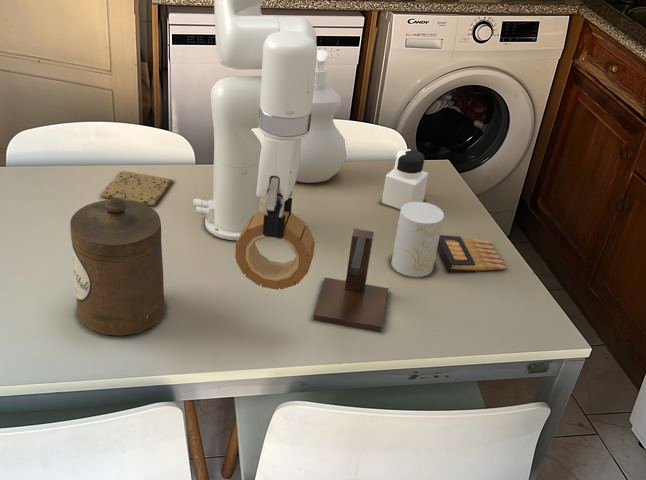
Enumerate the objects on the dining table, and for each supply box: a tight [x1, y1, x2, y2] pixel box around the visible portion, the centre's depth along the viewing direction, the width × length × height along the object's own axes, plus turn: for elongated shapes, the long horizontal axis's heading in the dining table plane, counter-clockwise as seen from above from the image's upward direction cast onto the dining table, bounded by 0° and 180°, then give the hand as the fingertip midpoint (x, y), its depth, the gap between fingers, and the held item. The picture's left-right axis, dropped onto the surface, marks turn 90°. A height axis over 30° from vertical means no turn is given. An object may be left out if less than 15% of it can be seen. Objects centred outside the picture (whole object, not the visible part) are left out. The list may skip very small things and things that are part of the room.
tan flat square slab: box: [101, 170, 173, 207], centre depth 178 cm, size 12×12×1 cm
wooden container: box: [69, 197, 165, 337], centre depth 136 cm, size 15×15×22 cm
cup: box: [390, 201, 445, 278], centre depth 157 cm, size 8×8×12 cm
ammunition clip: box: [437, 234, 508, 273], centre depth 163 cm, size 11×2×12 cm
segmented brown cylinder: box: [234, 210, 316, 291], centre depth 131 cm, size 12×5×12 cm, turn 78°
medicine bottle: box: [381, 148, 429, 210], centre depth 177 cm, size 7×7×12 cm
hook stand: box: [313, 228, 389, 333], centre depth 144 cm, size 12×13×13 cm
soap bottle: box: [296, 49, 347, 184], centre depth 180 cm, size 17×12×29 cm
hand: (276, 226), depth 128 cm, fingers closed on segmented brown cylinder, 4 cm apart
